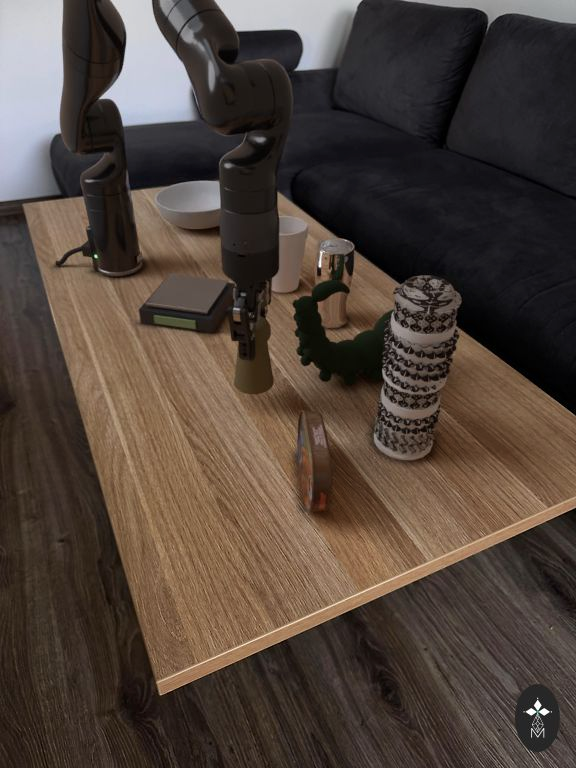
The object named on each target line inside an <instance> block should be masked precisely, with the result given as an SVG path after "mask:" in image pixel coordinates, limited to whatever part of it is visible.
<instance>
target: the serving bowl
mask: <svg viewBox="0 0 576 768" xmlns="http://www.w3.org/2000/svg"><path fill="white" fill-rule="evenodd" d="M154 203H155V206H156V209H157V211H158V212H159V214H160V215H161V217H162V218H163V219H164V220H165V221H166V222H168V223H170V224H171V225H174V226H176V227H177V228H183V229H186V230H187V229H188V230H205V229H212V228H216V227H220V204H221V203H220V186H219V181H215V180H213V181H212V180H194V181H185V182H179V183H175V184H171V185H169V186H166V187H164V188H163V189H161V190H160V191H158V192H157V194H155V197H154Z"/></svg>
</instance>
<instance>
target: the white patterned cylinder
mask: <svg viewBox="0 0 576 768" xmlns="http://www.w3.org/2000/svg"><path fill="white" fill-rule="evenodd" d="M392 294H393V298H394V305H393V309H394V311H393V313H392V314H390V316H389V319H388V320H386V322H385V325H386V326H387V327H385V333H386V335H385V336H384V340H385V343H384V349H385V350H384V351H383V355H384V358H383V360H382V361H383V363H384V364H383V366H382V373H383V382H384V383H383V385H382V387H381V391H380V394H379V396H378V401H377V409H376V414H375V419H374V428H373V432H374V433H373V441H374V444H375V445H376V447H377V449H378V450H379V451H380V452H381V453H383V454H385V455H386V456H388V457H390V458H393V459H395V460H400V461H415V460H418V459H422V458H424V457H425V456H427V455H428V454H429V453H430V452H431V450H432V447H433V444H434V440H435V436H434V435H435V434H436V432H437V428H436V427H437V423H438V422H439V414H440V413H441V404H440V402H441V398H442V396H441V391H442V389H443V388H444V387H445V384H446V382H447V379H448V375H449V374H450V372H451V369H450V368H451V364H452V363H453V362H454V359H453V357H452V356H453V354H454V353H455V351H457V348H458V347H457V343H458V340H459V339H460V334H459V333H458V332H459V330H458V329H457V328H456V327H457V323H458V322H457V318H456V317H457V315H458V311H459V307H460V306H461V304H462V301H463V299H462V297H461V294H460V293H459V292H458V291H457V290H455V289H454V286H453V285H452V284H451V283H450V282H449V281H447V280H446V279H444V278H441V277H439V276H434V275H425V274H424V275H422V274H421V275H416V276H412V277H410V278H408V279H406V280H405V281H404V282H403V283H401V284H399V285H397V286H396V287H395V289H393V292H392ZM390 325H391V327H390Z"/></svg>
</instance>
